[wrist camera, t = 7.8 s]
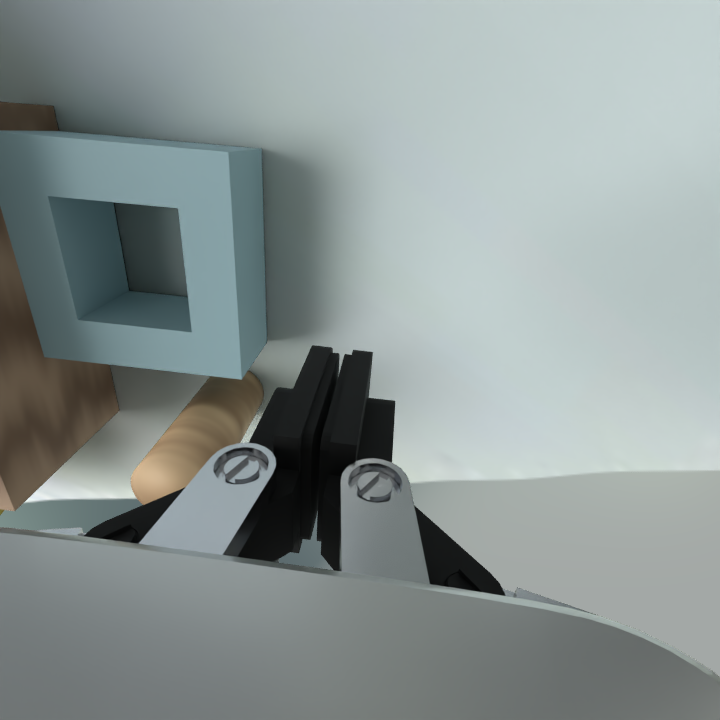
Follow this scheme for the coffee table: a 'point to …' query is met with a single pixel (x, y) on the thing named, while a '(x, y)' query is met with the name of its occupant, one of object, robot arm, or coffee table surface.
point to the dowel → (198, 435)
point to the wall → (39, 370)
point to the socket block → (105, 259)
